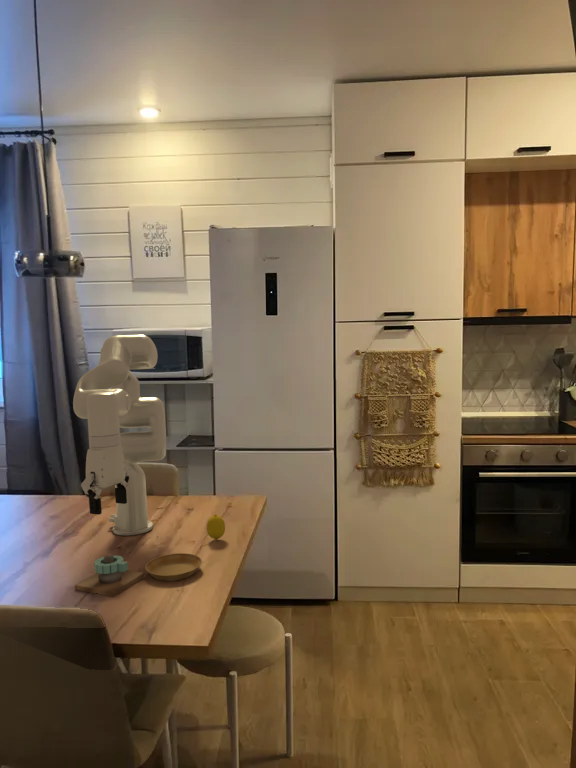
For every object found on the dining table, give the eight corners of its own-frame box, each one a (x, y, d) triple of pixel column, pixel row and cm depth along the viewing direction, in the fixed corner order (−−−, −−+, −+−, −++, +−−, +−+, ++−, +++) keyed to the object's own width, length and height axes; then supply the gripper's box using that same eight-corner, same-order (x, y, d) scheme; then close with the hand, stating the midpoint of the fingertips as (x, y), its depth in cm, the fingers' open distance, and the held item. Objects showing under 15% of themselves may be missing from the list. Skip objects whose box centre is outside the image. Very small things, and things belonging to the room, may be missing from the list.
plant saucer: (176, 589, 150) (175, 579, 150) (133, 577, 158) (133, 568, 158) (213, 568, 163) (213, 558, 162) (172, 558, 171) (172, 549, 170)
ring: (89, 571, 152) (88, 563, 152) (107, 561, 159) (107, 553, 159) (116, 576, 149) (116, 568, 149) (134, 565, 155) (134, 558, 155)
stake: (75, 589, 152) (73, 562, 151) (107, 571, 162) (105, 545, 162) (113, 596, 147) (111, 568, 146) (144, 577, 158) (142, 551, 157)
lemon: (222, 543, 180) (221, 517, 179) (204, 543, 181) (203, 517, 180) (228, 537, 185) (226, 511, 185) (210, 536, 187) (209, 511, 186)
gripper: (115, 435, 161) (119, 498, 163) (68, 447, 146) (72, 517, 147) (138, 436, 158) (142, 500, 160) (92, 448, 143) (97, 519, 144)
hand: (108, 508), depth 153 cm, fingers open, 9 cm apart
